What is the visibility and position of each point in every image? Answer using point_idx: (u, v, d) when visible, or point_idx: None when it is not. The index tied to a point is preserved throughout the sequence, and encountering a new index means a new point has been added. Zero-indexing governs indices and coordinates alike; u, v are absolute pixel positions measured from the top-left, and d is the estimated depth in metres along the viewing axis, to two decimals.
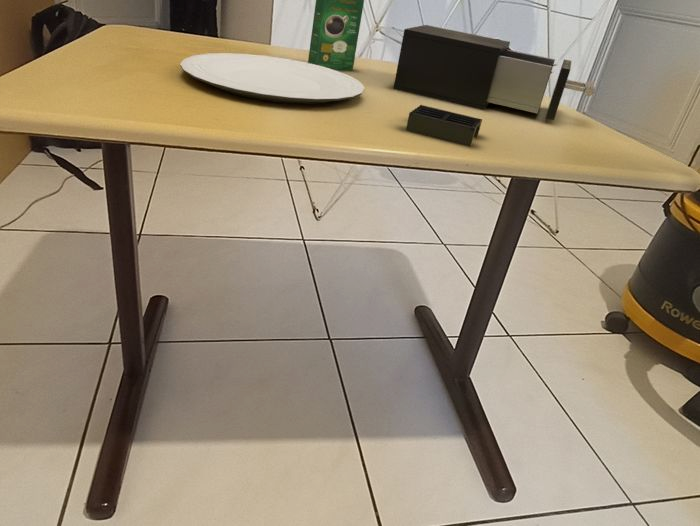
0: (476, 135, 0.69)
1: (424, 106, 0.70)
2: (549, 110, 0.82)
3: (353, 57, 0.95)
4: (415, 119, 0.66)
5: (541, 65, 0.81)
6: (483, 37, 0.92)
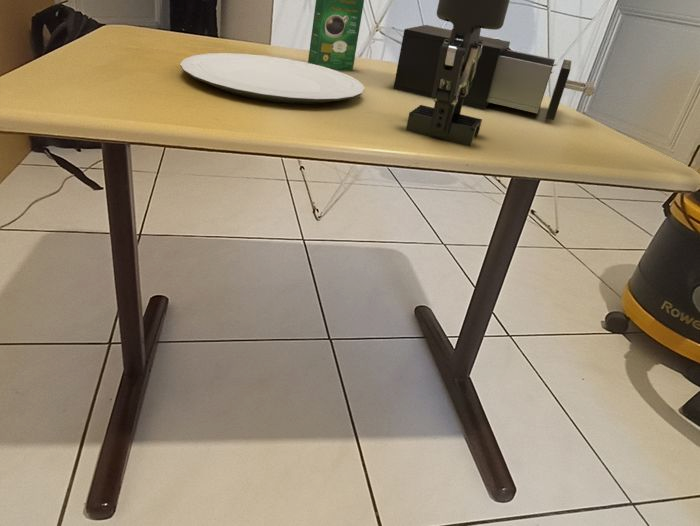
0: (476, 135, 0.69)
1: (424, 106, 0.70)
2: (549, 110, 0.82)
3: (353, 57, 0.95)
4: (415, 119, 0.66)
5: (541, 65, 0.81)
6: (483, 37, 0.92)
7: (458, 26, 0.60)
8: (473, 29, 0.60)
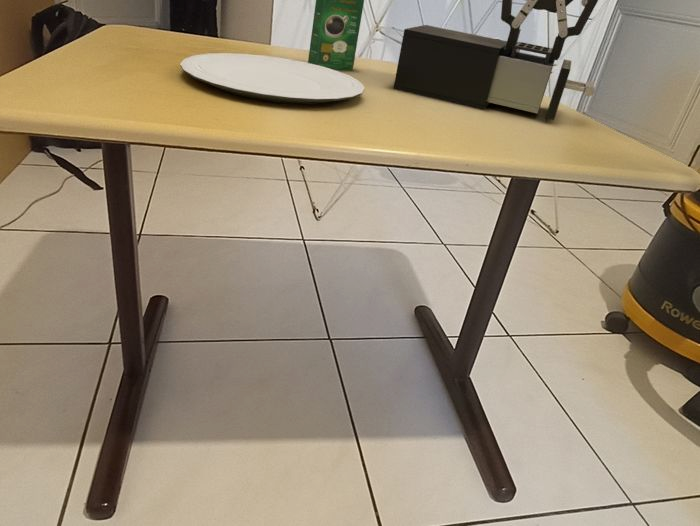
0: None
1: (549, 48, 0.87)
2: (549, 110, 0.82)
3: (353, 57, 0.95)
4: None
5: (541, 65, 0.81)
6: (483, 37, 0.92)
7: None
8: None
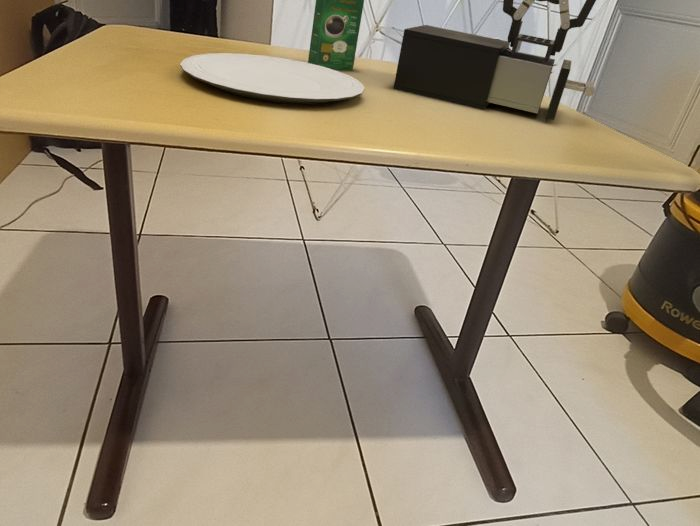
0: (545, 57, 0.82)
1: (551, 40, 0.87)
2: (549, 110, 0.82)
3: (353, 57, 0.95)
4: None
5: (541, 65, 0.81)
6: (483, 37, 0.92)
7: None
8: None
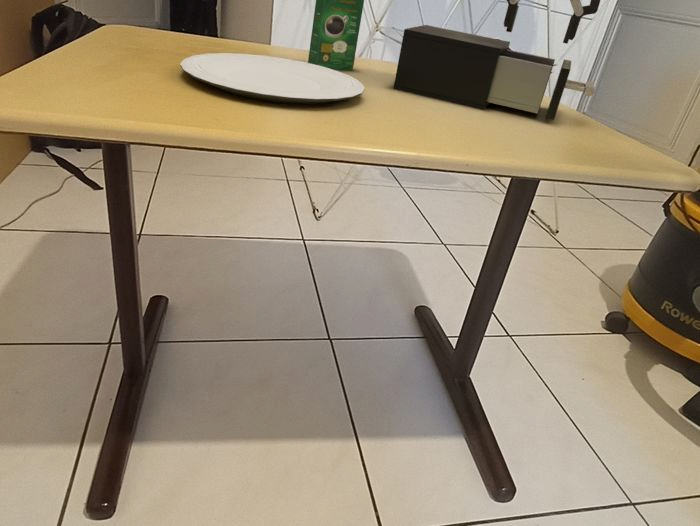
0: None
1: None
2: (549, 110, 0.82)
3: (353, 57, 0.95)
4: None
5: (541, 65, 0.81)
6: (483, 37, 0.92)
7: None
8: None
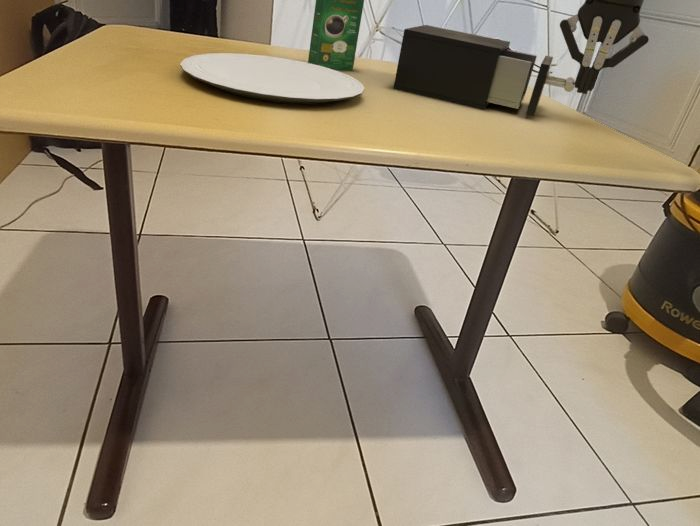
0: None
1: None
2: (529, 106, 0.83)
3: (353, 57, 0.95)
4: None
5: (521, 61, 0.81)
6: (483, 37, 0.92)
7: None
8: (593, 1, 0.79)
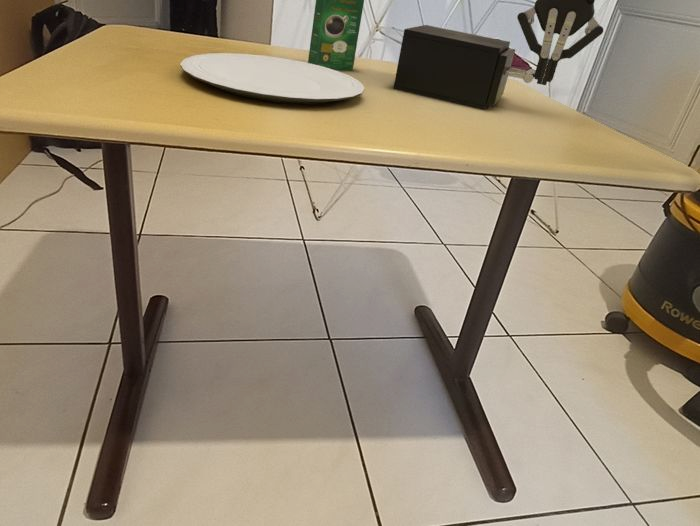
0: None
1: None
2: (489, 96, 0.84)
3: (353, 57, 0.95)
4: None
5: None
6: (483, 37, 0.92)
7: None
8: None
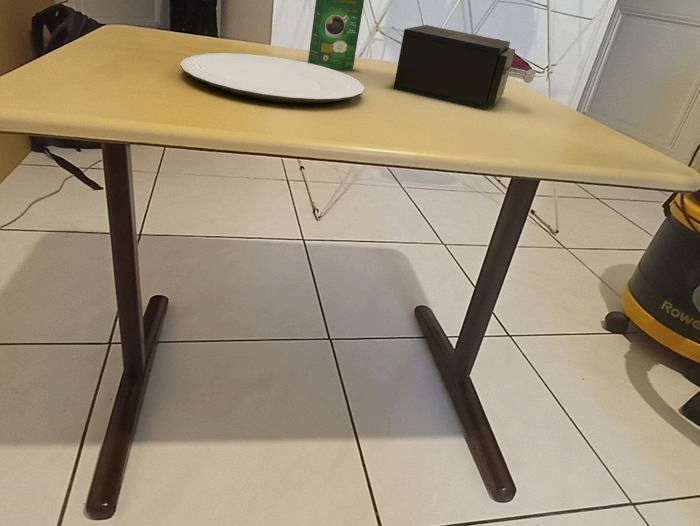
0: None
1: None
2: (489, 96, 0.84)
3: (353, 57, 0.95)
4: None
5: None
6: (483, 37, 0.92)
7: None
8: None
